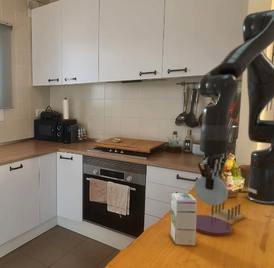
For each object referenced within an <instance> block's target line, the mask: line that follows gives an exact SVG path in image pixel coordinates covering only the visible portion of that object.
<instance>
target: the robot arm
mask: <svg viewBox="0 0 274 268" xmlns="http://www.w3.org/2000/svg"><path fill="white" fill-rule="evenodd" d="M242 40H243V42H242V43H241V44H240V45H239V44H238V46H236V47H234V48H233V49H232V50H230V51H229V52H228V54H227V55H226V56H225V57H224V59H223V60H222V61H221V62H220V63H219V64H218V65H217V66H215V67H214V68H212V69H211V70H209V71H208V72H207V73H205V74H204V75H203V76H202V77H201V79H200V80H199V81H198V84H197V92H198V94H199V95H200V96H201V97H204V98H217V100H216V102H215V103H214V104H209V105H206V106H203V108H202V116H201V117H202V119H201V127H200V137H199V138H200V139H199V151H200V152H202V153H203V157H202V162H198V164H197V165H198V169H199V172H200V175H201V176H202V177H205V178H206V182H205V188H206V189H209V190H213V186H214V176H216V177H218V178H219V176H221V175H222V172H223V169H224V167H225V164H226V161H227V160H226V158H223V155H224V154H226V153H227V152H228V146H229V145H228V144H229V119H230V110H231V107H232V105H233V102H234V99H235V97H236V94H237V92H238V90H239V80H238V78H240V77H241V76H242V75H243V74H244V73H245V71H246V84H247V85H246V86H247V87H246V88H247V99H248V123H247V124H248V125H247V134H248V139H249V140H250V141H251V142H252V143H258V144H259V143H260V144H270V146H269V147H267V148H263V149H257V150H253V151H252V152H251V154H250V162H249V163H250V164H249V175H248V185H247V194H246V198H247V199H248V200H250V201H252V202H254V203H257V204H262V205H274V119H273V120H272V119H261V114H262V113H263V111H264V110H265V108H266V107H267V106H268V105H269V103H271V101H273V99H274V63H273V61H271V59H270V58H269V57H268V56H267V55H266V54H265V52H264V51H265V50H266V49H268V47H270V45H272V44H273V43H274V9H267V10H263V11H256V12H252V13H249V14H247V15H246V16H245V18H244V20H243V22H242Z"/></svg>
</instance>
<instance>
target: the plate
mask: <svg viewBox="0 0 274 268" xmlns="http://www.w3.org/2000/svg"><path fill="white" fill-rule="evenodd" d="M205 182H206V178H205V177H202V175H201V176H199V177H197V179H196V180H195V182H194V184H193V185H194V186H193V188H194V193H195V195H196V196H197V198H198V199H199V200H200V201H201V202H202V203H204V204H206V205H209V206H212V205H214V206H215V205H217V206H219V204H221V205H222V203H223V202H224V203H225V202H226V201H227V199H228V196H229V189H228V186H227V184H226V183H225V181H223V179H221V178H220V177H219V176H218V177H216V176H214V186H213V190H209V189H206V188H205Z"/></svg>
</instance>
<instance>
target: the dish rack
mask: <svg viewBox="0 0 274 268" xmlns="http://www.w3.org/2000/svg"><path fill="white" fill-rule="evenodd" d="M241 207H242V203H238V204H237V205H234V206H231V207H230V208H228V209H226V208H225V201H224V202H223V203H221V204H219V205H211V210H210V213H208V214H206V216H212V217H215V218H218V219H221V220H223V221H225V222H227V223H228V224H230V225H231V226H232V225H233V224H235V223H236V222H239V221H240V220H242V219H243V218H245V214H243V213H241Z"/></svg>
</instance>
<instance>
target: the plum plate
mask: <svg viewBox="0 0 274 268" xmlns="http://www.w3.org/2000/svg"><path fill="white" fill-rule="evenodd" d="M232 231H233V228H232V224H231V225H230V224H228V223H227V222H225V221H223V220H221V219H218V218H215V217H212V216H207V214H206V215H205V214H196V233H200V234H203V235H207V236H212V237H226V236H229V235H231V234H232Z"/></svg>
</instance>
